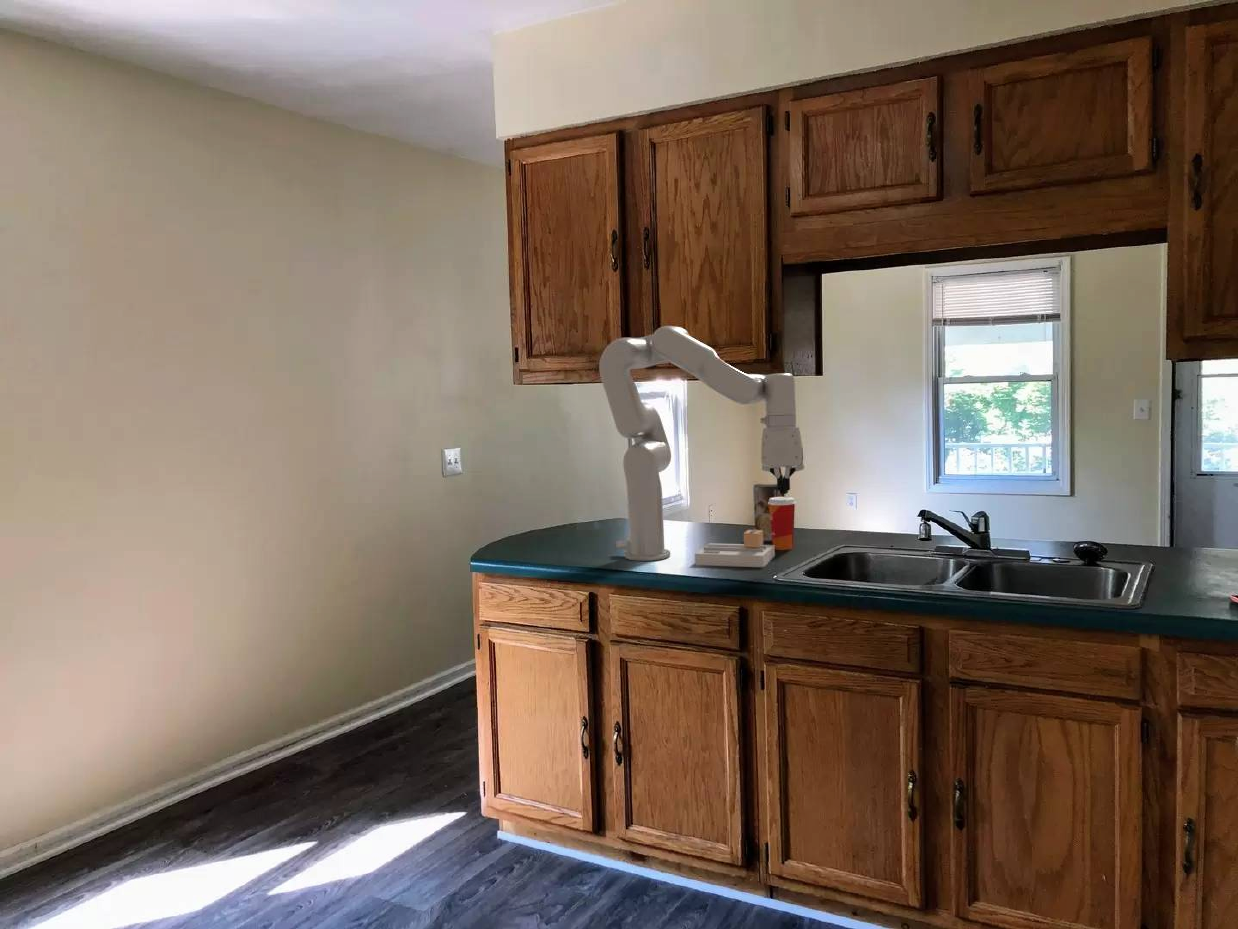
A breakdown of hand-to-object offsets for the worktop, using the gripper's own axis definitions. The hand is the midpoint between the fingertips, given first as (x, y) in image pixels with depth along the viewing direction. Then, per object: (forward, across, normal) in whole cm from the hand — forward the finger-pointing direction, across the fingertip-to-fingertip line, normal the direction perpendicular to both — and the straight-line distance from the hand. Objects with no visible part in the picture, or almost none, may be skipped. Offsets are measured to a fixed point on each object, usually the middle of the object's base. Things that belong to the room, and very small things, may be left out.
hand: (783, 493), depth 238 cm
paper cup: (+18, -4, +18) cm, 26 cm away
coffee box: (+18, -10, +31) cm, 37 cm away
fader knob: (+15, -8, 0) cm, 17 cm away
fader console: (+18, -14, 0) cm, 22 cm away
